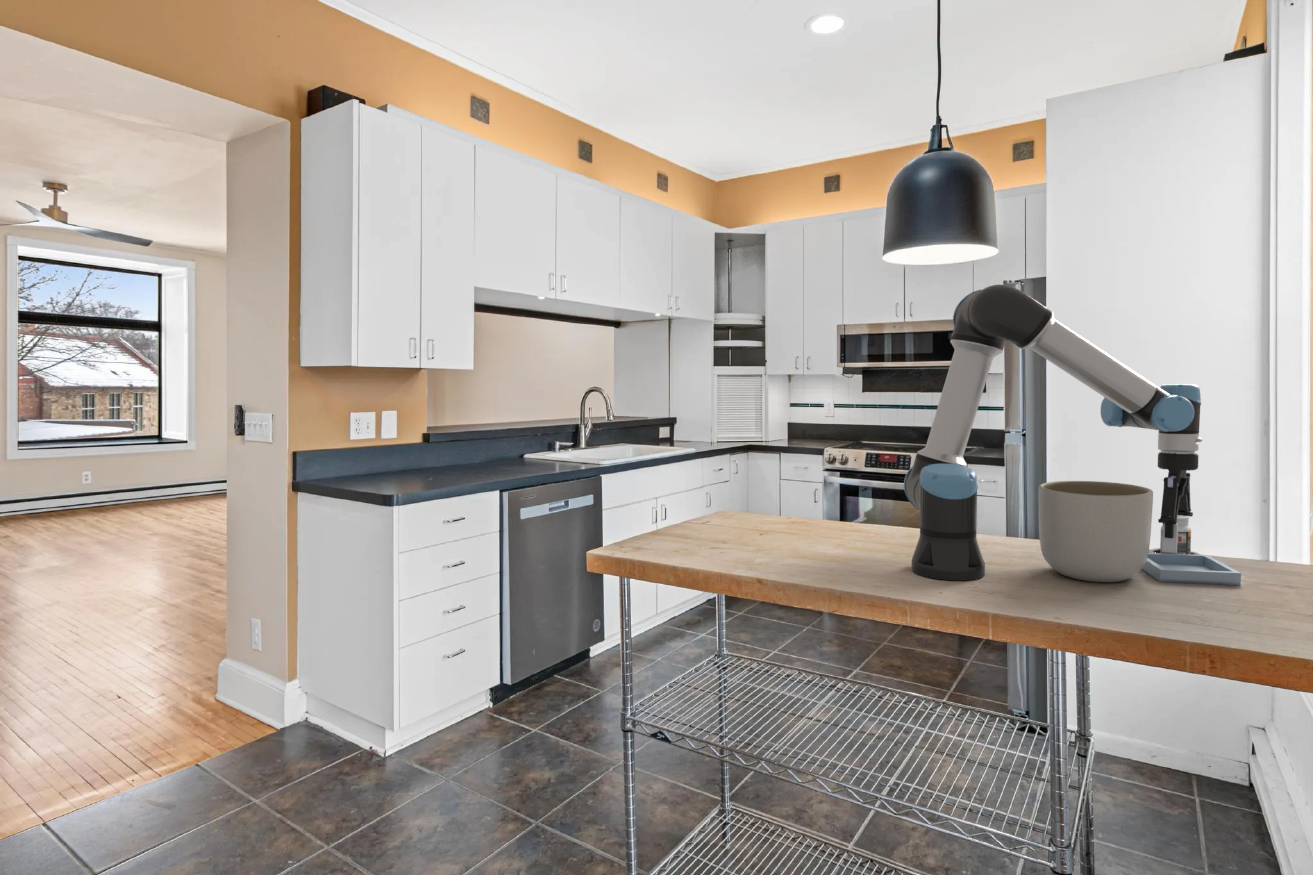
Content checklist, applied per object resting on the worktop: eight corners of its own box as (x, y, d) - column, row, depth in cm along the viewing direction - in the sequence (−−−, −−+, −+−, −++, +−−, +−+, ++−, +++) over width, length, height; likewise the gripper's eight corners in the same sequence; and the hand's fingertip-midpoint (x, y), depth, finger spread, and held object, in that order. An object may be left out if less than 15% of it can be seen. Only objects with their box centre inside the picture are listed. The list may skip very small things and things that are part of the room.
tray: (1160, 581, 149) (1160, 569, 149) (1134, 563, 164) (1134, 552, 163) (1240, 585, 145) (1241, 573, 145) (1206, 566, 160) (1207, 555, 160)
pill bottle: (1195, 562, 163) (1196, 518, 162) (1167, 561, 164) (1168, 518, 164) (1182, 556, 169) (1183, 514, 168) (1155, 555, 170) (1156, 513, 169)
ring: (1158, 563, 163) (1158, 557, 163) (1142, 552, 173) (1142, 547, 173) (1210, 565, 160) (1210, 559, 160) (1190, 554, 170) (1191, 549, 170)
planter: (1133, 565, 162) (1136, 481, 160) (1164, 592, 142) (1168, 497, 140) (1030, 560, 168) (1031, 479, 167) (1046, 585, 149) (1048, 494, 147)
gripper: (1187, 456, 154) (1183, 559, 155) (1208, 448, 170) (1205, 541, 171) (1145, 454, 159) (1142, 553, 161) (1169, 447, 175) (1167, 537, 177)
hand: (1174, 547), depth 166 cm, fingers open, 10 cm apart
